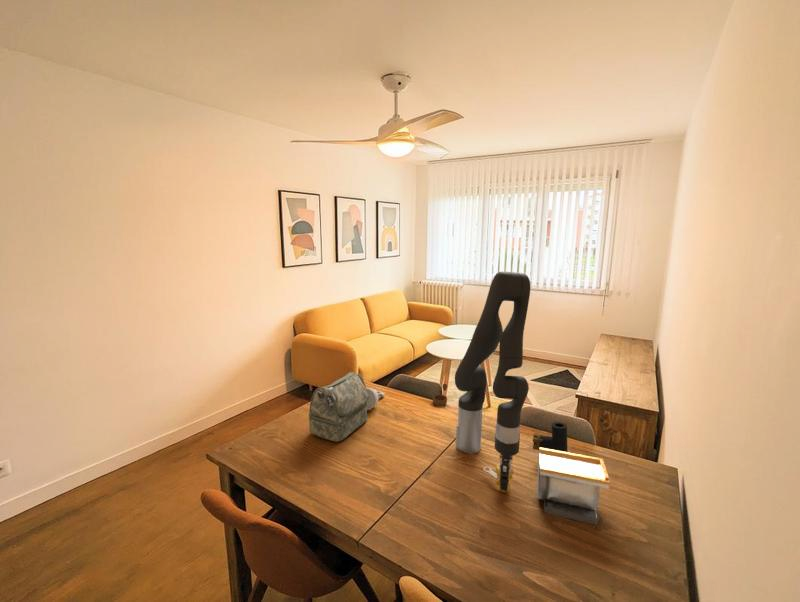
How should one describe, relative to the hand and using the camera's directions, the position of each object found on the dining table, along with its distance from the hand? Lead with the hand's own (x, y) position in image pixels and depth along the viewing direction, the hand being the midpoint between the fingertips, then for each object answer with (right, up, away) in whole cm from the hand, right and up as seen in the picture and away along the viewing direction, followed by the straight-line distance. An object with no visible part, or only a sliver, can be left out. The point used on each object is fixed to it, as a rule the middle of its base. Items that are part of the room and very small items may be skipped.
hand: (504, 483), depth 119 cm
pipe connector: (+21, 0, +15) cm, 26 cm away
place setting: (-12, +7, +65) cm, 67 cm away
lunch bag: (-60, +4, +40) cm, 72 cm away
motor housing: (+18, -3, -7) cm, 19 cm away
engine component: (-49, +7, +63) cm, 80 cm away
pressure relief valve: (-2, -2, +3) cm, 4 cm away
